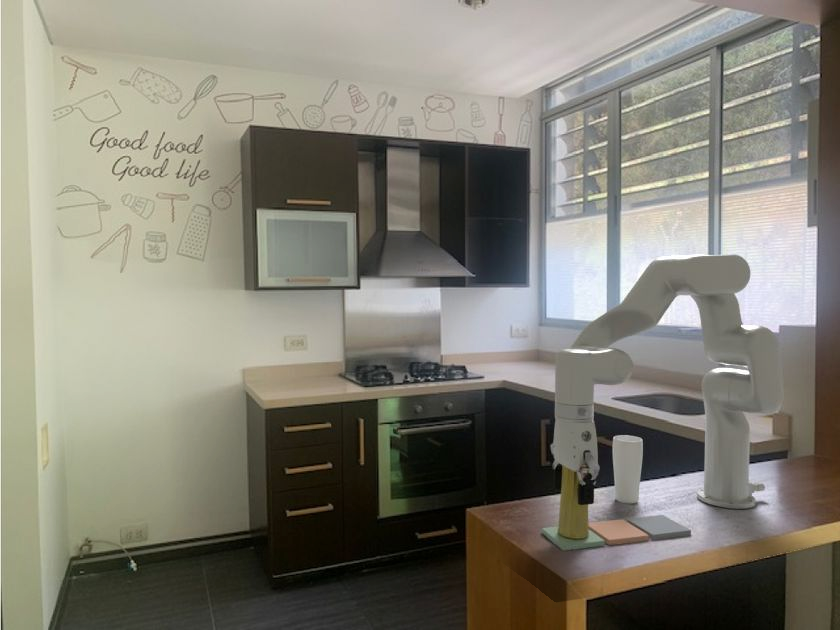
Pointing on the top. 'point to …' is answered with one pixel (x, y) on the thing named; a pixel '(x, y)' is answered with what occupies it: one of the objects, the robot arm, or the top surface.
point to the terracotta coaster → (617, 532)
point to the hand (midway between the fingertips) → (572, 495)
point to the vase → (572, 507)
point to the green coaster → (572, 543)
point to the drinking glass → (627, 467)
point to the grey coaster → (659, 527)
